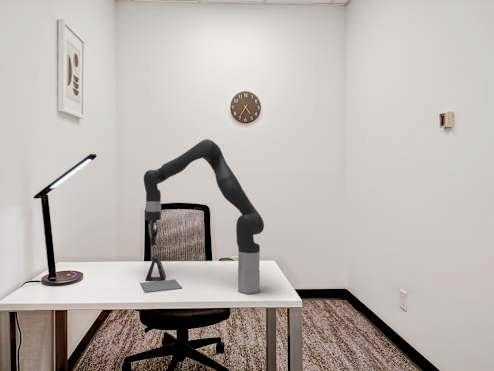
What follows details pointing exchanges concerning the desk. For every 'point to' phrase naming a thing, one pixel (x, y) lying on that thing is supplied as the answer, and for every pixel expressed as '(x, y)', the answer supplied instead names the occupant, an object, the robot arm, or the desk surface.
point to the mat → (160, 285)
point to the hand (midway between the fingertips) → (152, 244)
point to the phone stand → (160, 269)
